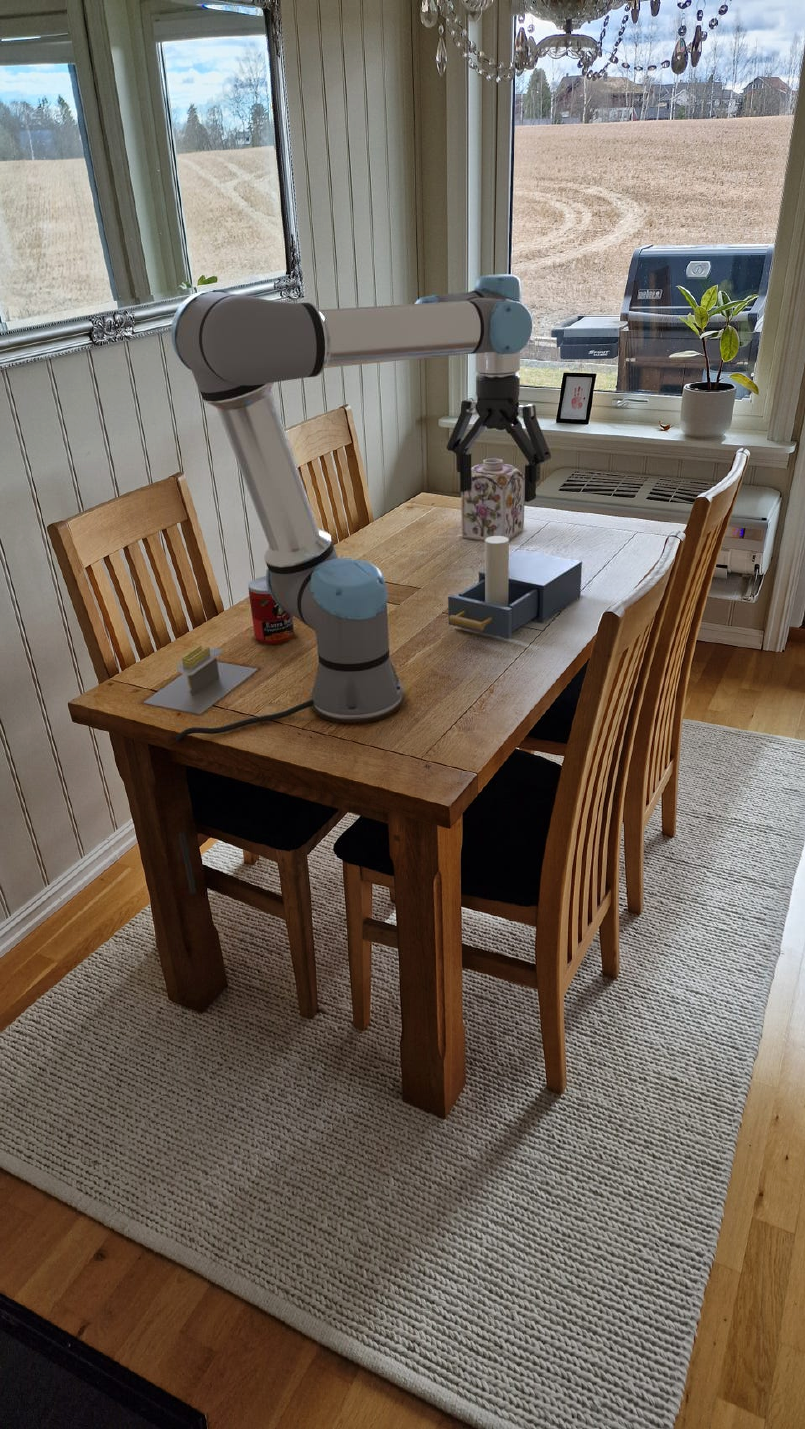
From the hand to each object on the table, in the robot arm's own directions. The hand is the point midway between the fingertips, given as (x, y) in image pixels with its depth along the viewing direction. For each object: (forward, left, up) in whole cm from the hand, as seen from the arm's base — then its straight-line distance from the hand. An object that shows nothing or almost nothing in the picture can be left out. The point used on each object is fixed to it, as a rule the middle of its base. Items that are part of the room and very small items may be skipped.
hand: (497, 495), depth 176 cm
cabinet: (+12, +2, -25) cm, 28 cm away
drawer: (-3, -1, -24) cm, 24 cm away
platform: (-55, +18, -25) cm, 64 cm away
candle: (-1, -1, -23) cm, 23 cm away
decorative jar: (+38, +37, -25) cm, 59 cm away
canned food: (-34, +26, -25) cm, 50 cm away
